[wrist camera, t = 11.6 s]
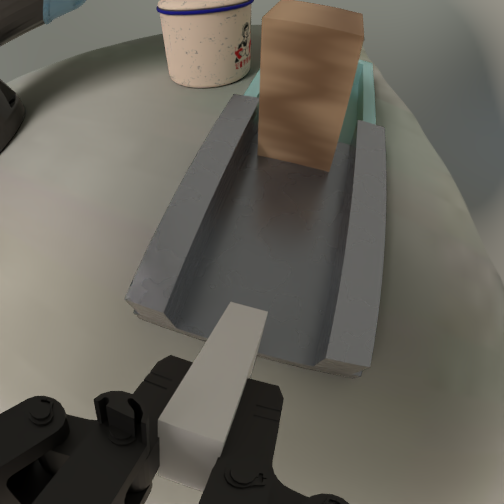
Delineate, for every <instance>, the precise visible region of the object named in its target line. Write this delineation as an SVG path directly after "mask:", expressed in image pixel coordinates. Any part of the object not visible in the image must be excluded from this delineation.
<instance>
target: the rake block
mask: <svg viewBox="0 0 504 504" xmlns="http://www.w3.org/2000/svg"><path fill="white" fill-rule="evenodd" d="M363 39H364V28H363V15H362V14H360V13H356V12H352V11H348V10H344V9H339V8H335V7H330V6H325V5H320V4H314V3H308V2H302V1H294V0H280V2H278V3H277V4H276V5H275V6H274V7H273V8H272V9H271V10H270V11H269V12H268V13H266V14H265V15H264V16H263V17H262V32H261V63H260V94H259V124H258V153H257V155H259V156H264V157H268V158H273V159H278V160H282V161H286V162H291V163H295V164H299V165H304V166H308V167H312V168H316V169H320V170H324V171H328V172H329V171H330V167H331V164H332V161H333V157H334V153H335V150H336V146H337V143H338V139H339V135H340V132H341V128H342V124H343V121H344V117H345V113H346V109H347V105H348V102H349V98H350V94H351V90H352V86H353V82H354V78H355V74H356V69H357V65H358V61H359V57H360V52H361V48H362V44H363Z"/></svg>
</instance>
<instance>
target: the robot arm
mask: <svg viewBox="0 0 504 504" xmlns="http://www.w3.org/2000/svg"><path fill="white" fill-rule="evenodd" d="M85 1H86V0H0V46H2V45H4V44H6V43H8V42H9V41H11V40H13V39H15V38H17V37H19V36H21V35H23V34H25V33H26V32H29V31H31V30H33V29H35V28H37V27H39V26H41V25H43V24H49V23H50V22H52V20H53V19H55V18H57V17H59V16H62V15H64V14H66V13H68V12H70V11H73V10H75V9H77V8H79V7H80V6H81V5H83V3H85ZM24 115H25V108H24V106H23V104H22V102H21V100H20V98H19V96H18V95H17V94H16V93H15V92H14V91H13V90H12V89H11V88H10V87H9V86H8V85H6V84H5V83H4V82H3V81H2V80H1V79H0V152H1V150H2V149H3V148H4V147H5V146H6V145H7V143H8V142H9V141H10V139H11V138H12V137H13V135H14V134H15V133H16V131H17V130H18V128H19V126H20V124H21V123H22V120H23V118H24ZM267 314H268V312H267V311H263V310H260V309H256V308H252V307H248V306H245V305H241V304H237V303H234V302H230V304H229V305H228V307H227V308H226V310H225V312H224V313H223V315H222V317H221V318H220V320H219V322H218V323H217V325H216V326H215V328H214V330H213V331H212V333H211V335H210V336H209V338H208V339H207V341H206V343H205V344H204V346H203V348H202V349H201V351H200V352H199V354H198V356H197V357H196V359H195V361H194V362H190V361H187V360H184V359H181V358H178V357H175V356H172V355H170V356H168V357H166V358H164V359H162V360H160V361H158V363H157V364H156V365H155V366H154V368H153V369H152V370H151V372H150V373H149V374H148V375H147V377H146V378H145V379H144V382H142V383H141V384H140V386H139V387H138V388H137V389H136V391H135V392H134V393H133V394H130V393H127V392H123V391H110V392H106V393H103V394H100V395H99V396H98V397H96V398H95V399H94V404H95V410H96V415H97V420H88V419H84V418H79V417H75V416H71V415H67V414H66V413H65V410H64V408H63V407H62V405H61V404H60V403H59V402H58V401H56V400H55V399H53V398H50V397H46V396H35V397H32V398H29V399H27V400H25V401H23V402H21V403H19V404H18V405H16V406H14V407H12V408H10V409H8V410H7V411H5V412H3V413H1V414H0V504H144V503H145V501H146V499H147V498H148V496H149V494H150V492H151V488H152V479H153V478H154V476H155V474H156V472H157V470H158V474H159V476H160V477H163V478H165V479H168V480H171V481H173V482H176V483H179V484H182V485H184V486H187V487H190V488H193V489H196V490H199V491H203V494H202V496H201V499H200V502H199V504H349V503H348V502H346V501H345V500H344V499H343V498H340V497H338V496H335V495H333V494H318V495H314V496H311V497H306V496H304V495H302V494H300V493H297V492H295V491H293V490H291V489H289V488H288V487H286V486H284V485H283V484H282V483H281V482H280V481H279V480H278V479H277V477H276V475H275V474H274V471H273V468H272V460H273V455H274V450H275V444H276V439H277V433H278V428H279V422H280V416H281V411H282V405H283V399H284V398H283V396H282V393H281V391H280V388H279V386H276V385H272V384H268V383H264V382H260V381H256V380H253V379H250V376H251V373H252V370H253V367H254V363H255V360H256V356H257V352H258V348H259V345H260V341H261V337H262V333H263V330H264V326H265V322H266V318H267Z"/></svg>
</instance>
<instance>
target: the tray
mask: <svg viewBox="0 0 504 504" xmlns="http://www.w3.org/2000/svg"><path fill="white" fill-rule="evenodd" d="M259 94H260V69H259V71H258V73H257V74H256V76H255V77H254V79H253V81H252V82H251V84H250V85H249V87H248V89H247V90H246V92H245V94H244V96H251V97H257V98H259ZM358 120H362V121H365V122H368V123H372V124H375V125H376V112H375V92H374V78H373V66H372V63H370V62H366V61H363V60H359V61H358V65H357V69H356V74H355V78H354V82H353V86H352V90H351V94H350V98H349V102H348V105H347V109H346V113H345V117H344V121H343V124H342V128H341V132H340V135H339V139H338V142H341V143H345V144H349V145H350V143H351V140H352V137H353V134H354V130H355V127H356V124H357V121H358Z"/></svg>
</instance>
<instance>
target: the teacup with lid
mask: <svg viewBox="0 0 504 504" xmlns="http://www.w3.org/2000/svg"><path fill="white" fill-rule="evenodd" d="M253 1H254V0H159V2H158V6H157V11H158V12H160V17H161V25H162V31H163V38H164V45H165V51H166V57H167V63H168V69H169V75H170V77H171V79H172V80H173V81H174V82H176V83H178V84H180V85H183V86H186V87H193V88H210V87H218V86H223V85H227V84H230V83H233V82H235V81H237V80H239V79H241V78H243V77H244V76H245V75H246V74H247V73H248V72H249V70H250V66H251V3H252V2H253Z"/></svg>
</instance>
